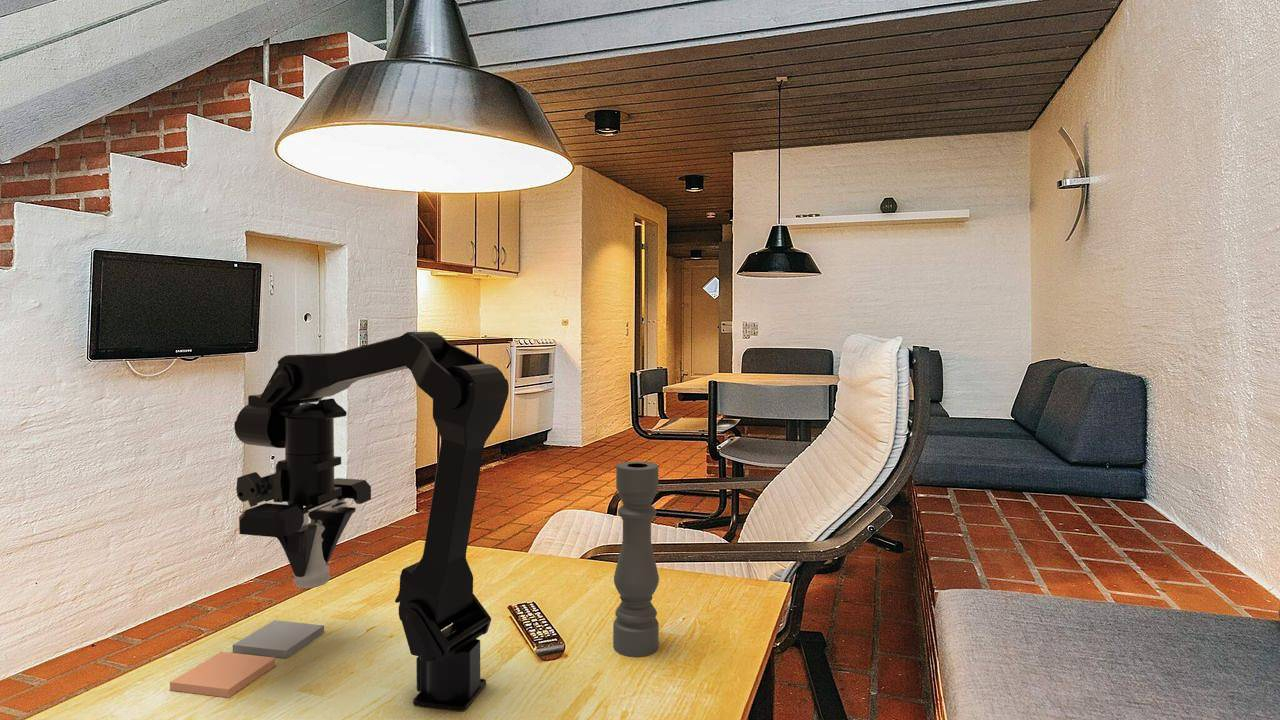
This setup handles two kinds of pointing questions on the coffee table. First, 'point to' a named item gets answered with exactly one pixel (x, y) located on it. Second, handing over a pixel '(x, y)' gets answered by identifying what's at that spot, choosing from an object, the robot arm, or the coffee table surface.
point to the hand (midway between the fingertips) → (311, 570)
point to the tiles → (246, 659)
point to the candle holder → (636, 561)
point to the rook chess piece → (315, 563)
